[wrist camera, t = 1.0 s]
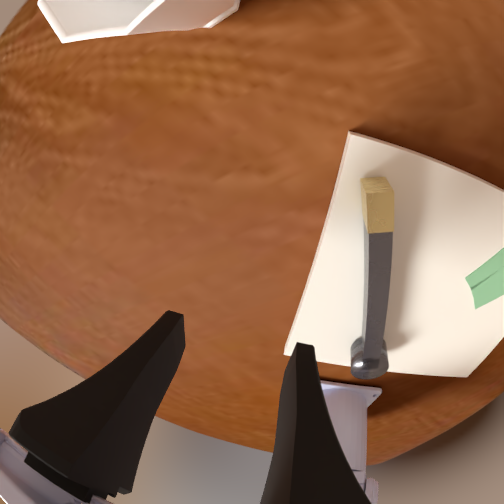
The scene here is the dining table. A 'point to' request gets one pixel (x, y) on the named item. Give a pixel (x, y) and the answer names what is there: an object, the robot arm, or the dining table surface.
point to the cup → (131, 16)
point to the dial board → (410, 265)
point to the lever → (375, 278)
